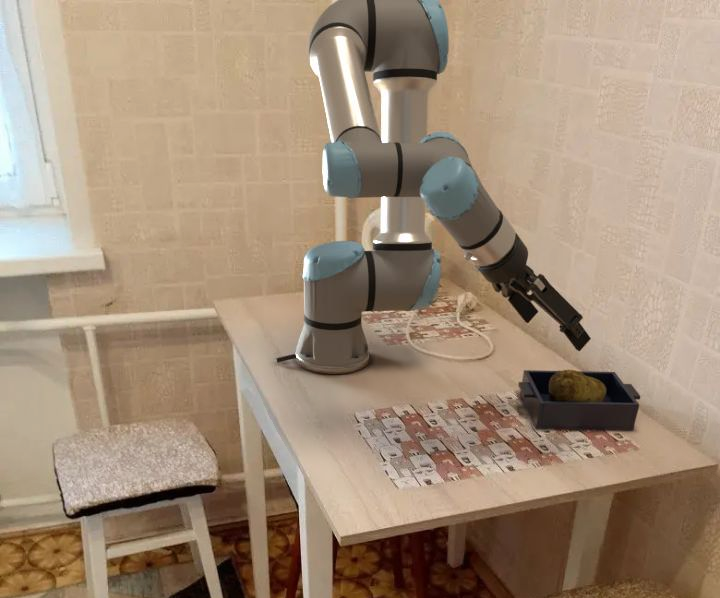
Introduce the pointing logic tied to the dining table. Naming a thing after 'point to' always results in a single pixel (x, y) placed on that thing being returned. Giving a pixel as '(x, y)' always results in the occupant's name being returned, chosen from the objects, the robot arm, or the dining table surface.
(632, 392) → the pan handles
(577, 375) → the potato
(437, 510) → the dining table surface
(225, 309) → the dining table surface
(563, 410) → the roasting pan
